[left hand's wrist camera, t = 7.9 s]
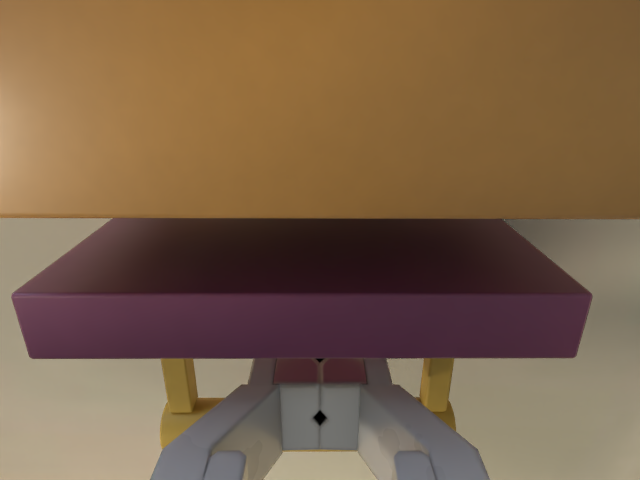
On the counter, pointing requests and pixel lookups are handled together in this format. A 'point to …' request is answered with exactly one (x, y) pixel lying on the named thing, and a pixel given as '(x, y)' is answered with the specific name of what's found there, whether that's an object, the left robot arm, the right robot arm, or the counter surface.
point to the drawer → (301, 298)
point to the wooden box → (320, 109)
